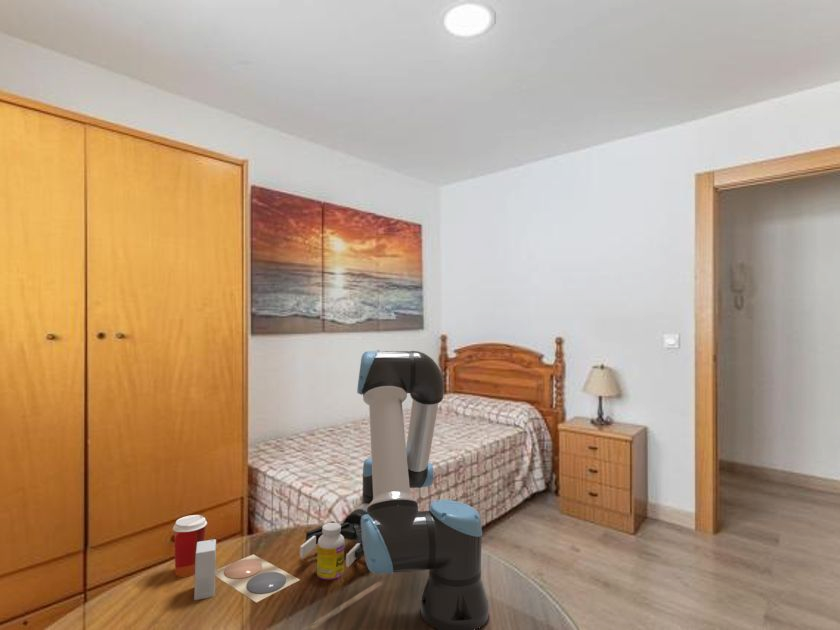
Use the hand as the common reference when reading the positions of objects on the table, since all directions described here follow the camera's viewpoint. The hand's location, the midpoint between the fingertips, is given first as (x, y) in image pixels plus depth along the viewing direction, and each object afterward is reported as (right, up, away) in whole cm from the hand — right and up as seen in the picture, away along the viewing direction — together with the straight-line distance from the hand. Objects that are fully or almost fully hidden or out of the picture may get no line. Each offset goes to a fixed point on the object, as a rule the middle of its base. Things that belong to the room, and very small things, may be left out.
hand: (323, 556), depth 111 cm
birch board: (-17, -7, +1) cm, 19 cm away
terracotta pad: (-21, -5, +4) cm, 22 cm away
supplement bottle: (+1, -7, +3) cm, 8 cm away
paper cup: (-35, -7, +3) cm, 35 cm away
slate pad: (-13, -5, -2) cm, 14 cm away
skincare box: (-26, -7, -6) cm, 28 cm away
